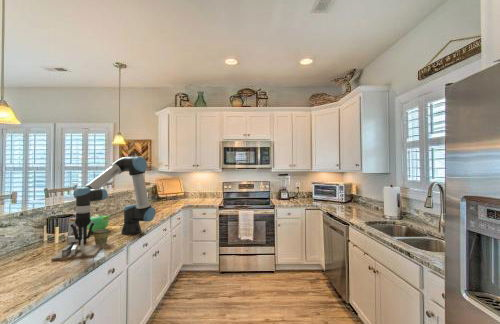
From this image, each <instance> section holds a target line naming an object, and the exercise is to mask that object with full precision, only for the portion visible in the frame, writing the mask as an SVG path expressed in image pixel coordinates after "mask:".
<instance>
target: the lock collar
mask: <svg viewBox="0 0 500 324" xmlns="http://www.w3.org/2000/svg"><path fill="white" fill-rule="evenodd" d="M78 237H79V235H78ZM82 239H83V235H82ZM72 242H77V243H79V240H78V239H75V236H68V235H67V236H66V246H68V245H69V244H71V243H72Z"/></svg>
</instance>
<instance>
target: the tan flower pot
mask: <svg viewBox="0 0 500 324" xmlns="http://www.w3.org/2000/svg"><path fill="white" fill-rule="evenodd" d="M110 232H111V230H110V229H109V228H105V229H98V230H94V231H92V233H93V238H94V243H95V246H96V245H102V247H103V246H106V245H107V242H108V237H109V233H110Z"/></svg>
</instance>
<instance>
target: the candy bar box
mask: <svg viewBox="0 0 500 324" xmlns="http://www.w3.org/2000/svg"><path fill="white" fill-rule="evenodd" d="M67 220H68V222H67V237H68V236H74V232H73V228H72V227H71V224H73V223H75V221H76V217H70V218H67ZM76 229H77V233H78V235H79V227H78V226H77V225H76ZM83 234H84V229H83V227H82V235H83Z"/></svg>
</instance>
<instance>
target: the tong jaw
mask: <svg viewBox="0 0 500 324" xmlns="http://www.w3.org/2000/svg"><path fill="white" fill-rule="evenodd" d="M78 247H79V243H77V244H74V245H73V247H72V249H71V256H73V255H75V254H76V252H77V250H78Z"/></svg>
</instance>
